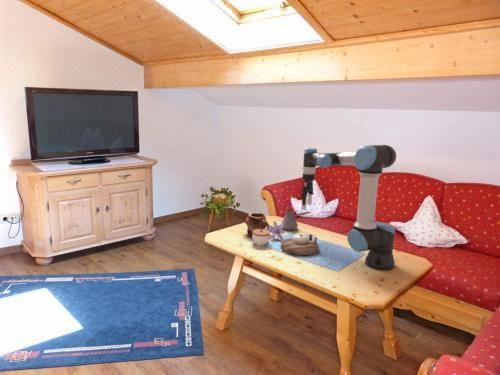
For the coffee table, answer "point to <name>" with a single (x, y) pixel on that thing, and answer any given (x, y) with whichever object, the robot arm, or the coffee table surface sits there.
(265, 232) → the lidded jar
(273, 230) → the water lily
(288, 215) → the coffee pot
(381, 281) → the coffee table surface
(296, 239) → the lid
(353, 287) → the coffee table surface
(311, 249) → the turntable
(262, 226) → the decorative planter
